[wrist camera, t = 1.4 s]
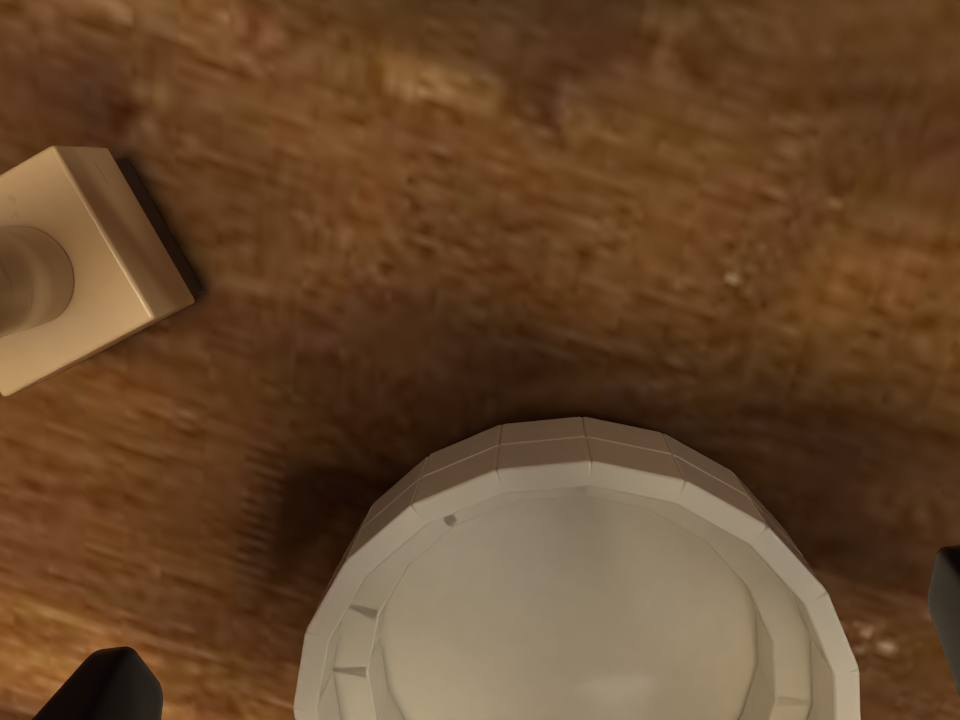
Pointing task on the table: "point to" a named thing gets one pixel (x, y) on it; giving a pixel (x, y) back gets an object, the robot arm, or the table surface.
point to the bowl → (574, 592)
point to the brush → (80, 262)
